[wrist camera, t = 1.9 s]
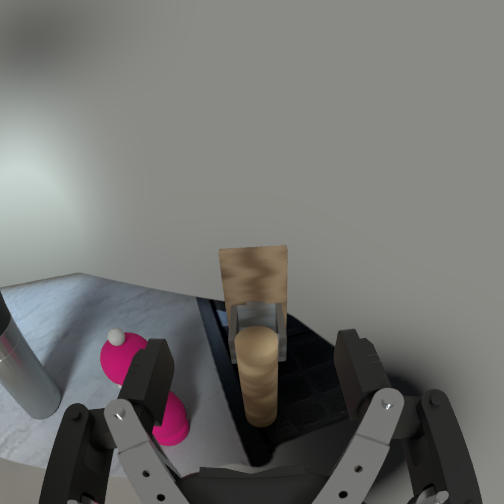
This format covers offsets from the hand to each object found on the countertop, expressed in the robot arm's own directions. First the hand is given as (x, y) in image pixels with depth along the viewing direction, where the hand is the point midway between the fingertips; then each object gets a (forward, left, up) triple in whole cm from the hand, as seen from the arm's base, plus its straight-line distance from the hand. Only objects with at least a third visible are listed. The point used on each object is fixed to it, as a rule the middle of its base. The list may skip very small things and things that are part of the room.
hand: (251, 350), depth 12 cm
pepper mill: (-13, +8, -27) cm, 31 cm away
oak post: (0, +11, -27) cm, 29 cm away
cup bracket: (0, +23, -27) cm, 35 cm away
